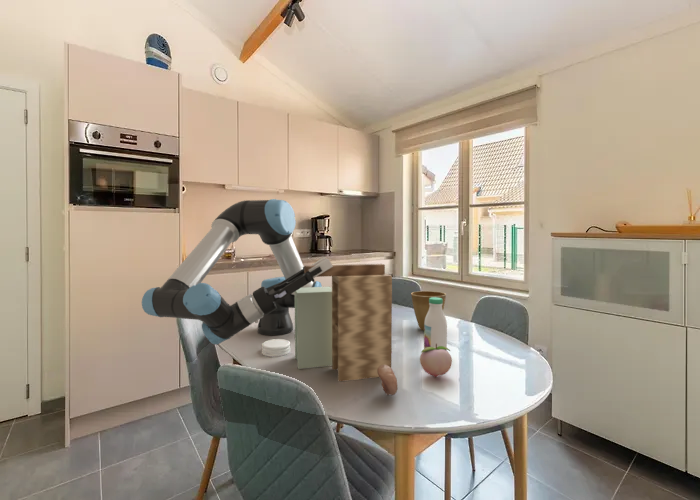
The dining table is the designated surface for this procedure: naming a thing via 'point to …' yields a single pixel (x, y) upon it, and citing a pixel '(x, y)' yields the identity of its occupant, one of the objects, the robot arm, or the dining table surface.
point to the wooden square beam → (351, 270)
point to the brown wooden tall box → (361, 325)
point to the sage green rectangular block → (313, 327)
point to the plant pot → (424, 304)
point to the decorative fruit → (436, 360)
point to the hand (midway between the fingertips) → (328, 261)
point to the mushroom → (387, 379)
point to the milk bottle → (435, 324)
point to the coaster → (275, 347)
